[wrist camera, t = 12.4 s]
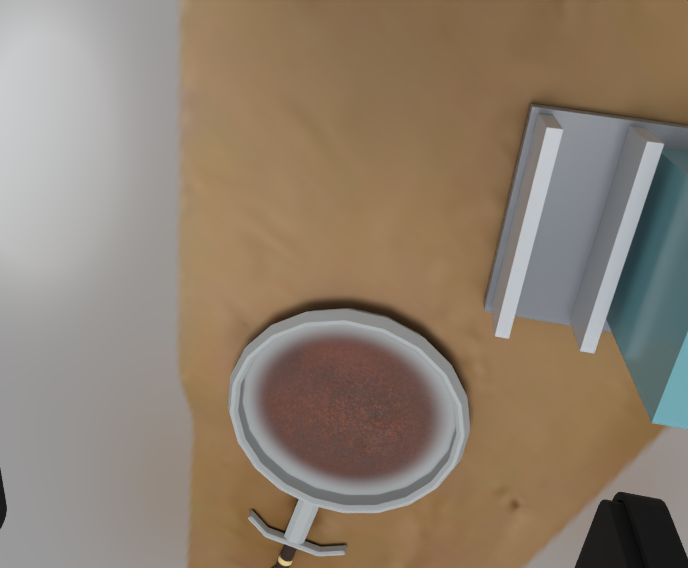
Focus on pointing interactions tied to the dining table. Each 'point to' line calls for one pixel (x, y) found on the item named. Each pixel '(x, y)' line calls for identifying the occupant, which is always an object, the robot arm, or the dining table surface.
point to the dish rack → (573, 217)
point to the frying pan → (346, 417)
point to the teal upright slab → (658, 296)
